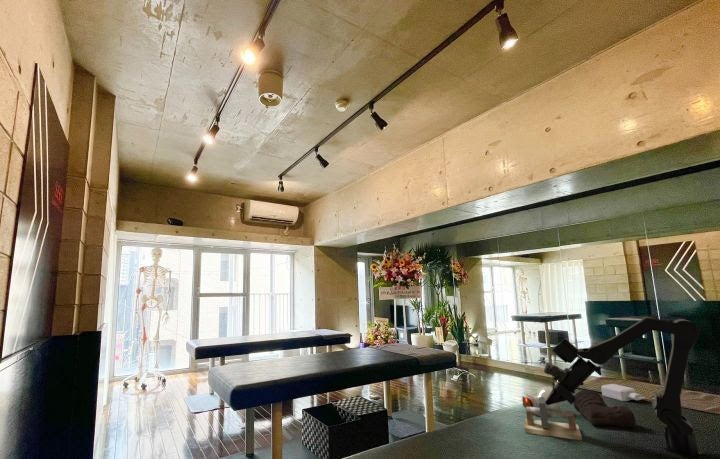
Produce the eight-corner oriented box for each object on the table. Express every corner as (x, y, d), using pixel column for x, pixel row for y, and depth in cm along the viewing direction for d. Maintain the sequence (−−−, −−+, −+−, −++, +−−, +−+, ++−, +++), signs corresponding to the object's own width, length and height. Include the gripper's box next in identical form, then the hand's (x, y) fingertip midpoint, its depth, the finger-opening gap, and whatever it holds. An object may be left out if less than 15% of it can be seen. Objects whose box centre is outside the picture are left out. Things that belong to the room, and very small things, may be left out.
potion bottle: (565, 414, 139) (532, 422, 137) (549, 394, 148) (517, 401, 146) (570, 399, 135) (536, 407, 133) (553, 379, 144) (521, 386, 142)
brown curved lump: (635, 408, 119) (612, 388, 134) (588, 409, 122) (570, 390, 137) (639, 436, 119) (616, 413, 134) (592, 436, 122) (574, 414, 137)
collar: (547, 420, 125) (544, 397, 126) (548, 428, 118) (545, 403, 119) (541, 419, 126) (538, 396, 127) (541, 427, 119) (538, 402, 120)
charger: (637, 406, 143) (602, 396, 157) (652, 403, 147) (616, 394, 160) (635, 393, 144) (600, 385, 158) (649, 391, 147) (614, 383, 161)
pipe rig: (578, 429, 121) (575, 407, 123) (581, 440, 112) (578, 416, 114) (525, 422, 129) (523, 401, 130) (525, 432, 120) (522, 410, 121)
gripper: (555, 351, 132) (527, 379, 134) (558, 360, 115) (526, 392, 118) (582, 374, 127) (552, 403, 129) (589, 387, 110) (555, 420, 113)
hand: (546, 403), depth 122 cm, fingers closed, pressing on collar
